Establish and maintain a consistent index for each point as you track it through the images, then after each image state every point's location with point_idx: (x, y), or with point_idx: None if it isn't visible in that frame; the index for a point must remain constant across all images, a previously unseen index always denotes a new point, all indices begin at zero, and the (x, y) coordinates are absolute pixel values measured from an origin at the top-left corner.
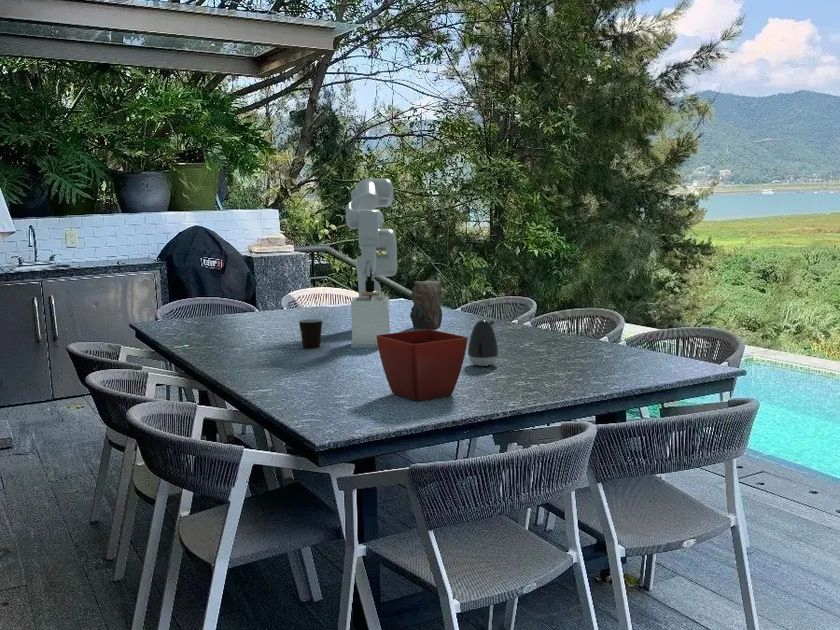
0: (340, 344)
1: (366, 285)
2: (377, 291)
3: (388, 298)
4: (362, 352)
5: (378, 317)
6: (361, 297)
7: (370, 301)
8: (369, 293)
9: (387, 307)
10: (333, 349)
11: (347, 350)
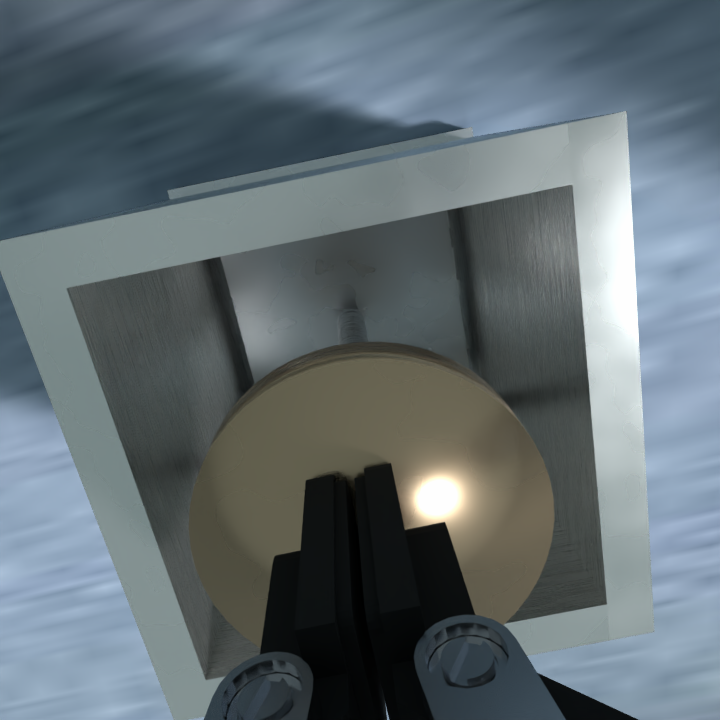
0: (315, 41)
1: (307, 568)
2: None
3: (572, 634)
4: (17, 333)
5: None
6: (575, 257)
7: (105, 535)
8: (202, 558)
9: None
10: (70, 61)
11: (61, 196)
